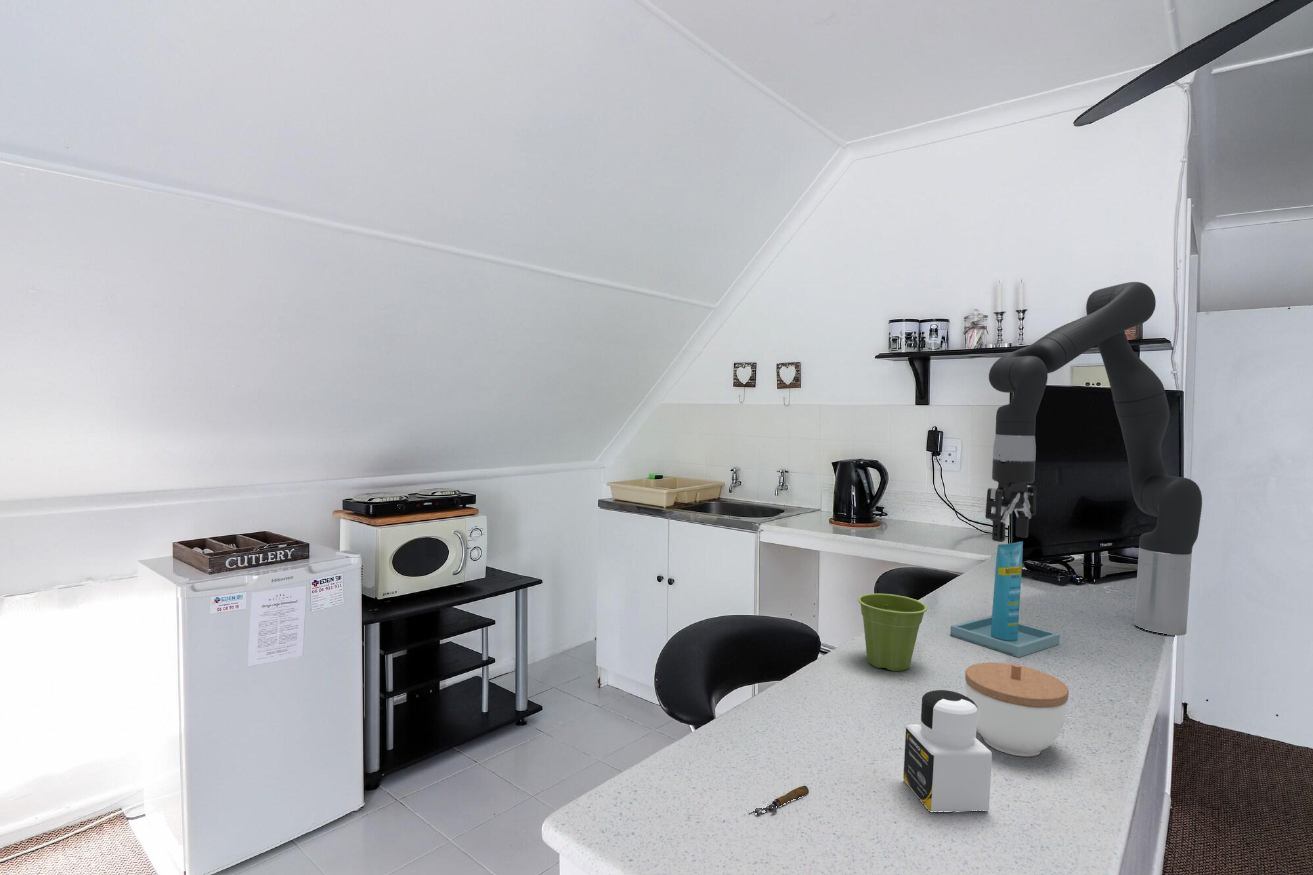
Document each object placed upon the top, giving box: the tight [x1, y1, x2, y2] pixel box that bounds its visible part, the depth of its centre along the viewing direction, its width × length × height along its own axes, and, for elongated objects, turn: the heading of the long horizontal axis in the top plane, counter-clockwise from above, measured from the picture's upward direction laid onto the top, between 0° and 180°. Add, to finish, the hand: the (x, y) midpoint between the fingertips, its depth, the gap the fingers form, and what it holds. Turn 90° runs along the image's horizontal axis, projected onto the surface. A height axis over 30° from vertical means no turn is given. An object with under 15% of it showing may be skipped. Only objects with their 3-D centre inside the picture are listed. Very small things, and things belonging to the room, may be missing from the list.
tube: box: [991, 541, 1024, 641], centre depth 141 cm, size 7×5×19 cm, turn 123°
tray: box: [949, 615, 1061, 659], centre depth 141 cm, size 15×14×2 cm
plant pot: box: [857, 593, 929, 672], centre depth 125 cm, size 12×12×11 cm
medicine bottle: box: [903, 689, 993, 812], centre depth 83 cm, size 7×7×12 cm
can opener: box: [754, 785, 810, 815], centre depth 80 cm, size 9×2×1 cm, turn 122°
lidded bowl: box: [964, 662, 1070, 758], centre depth 96 cm, size 13×13×11 cm
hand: (1010, 539), depth 140 cm, fingers open, 8 cm apart
